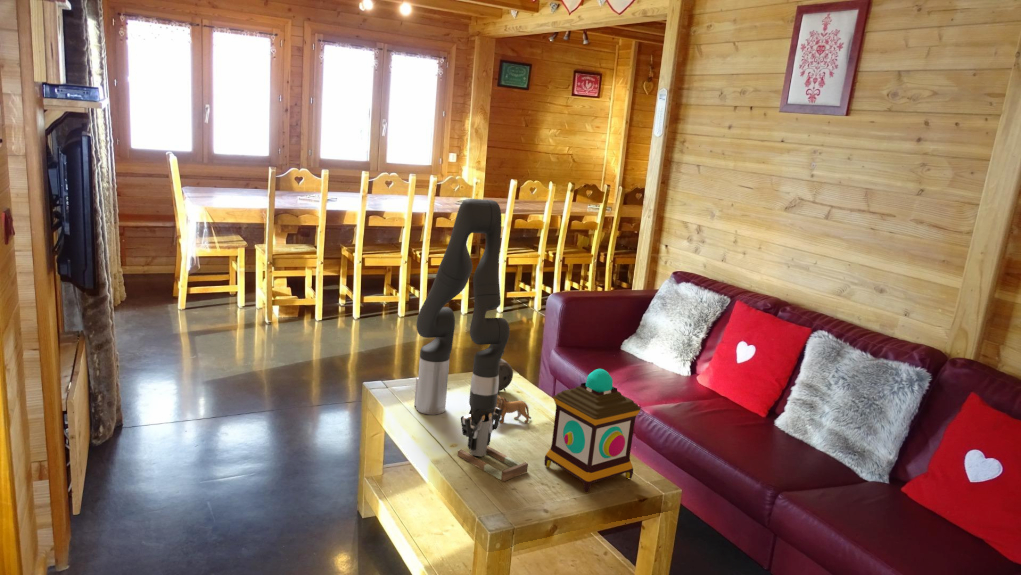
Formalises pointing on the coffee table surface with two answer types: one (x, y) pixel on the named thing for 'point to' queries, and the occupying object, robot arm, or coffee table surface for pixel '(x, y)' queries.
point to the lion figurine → (512, 408)
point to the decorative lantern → (593, 430)
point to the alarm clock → (504, 375)
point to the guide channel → (504, 475)
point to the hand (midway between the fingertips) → (478, 446)
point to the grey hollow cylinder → (481, 439)
